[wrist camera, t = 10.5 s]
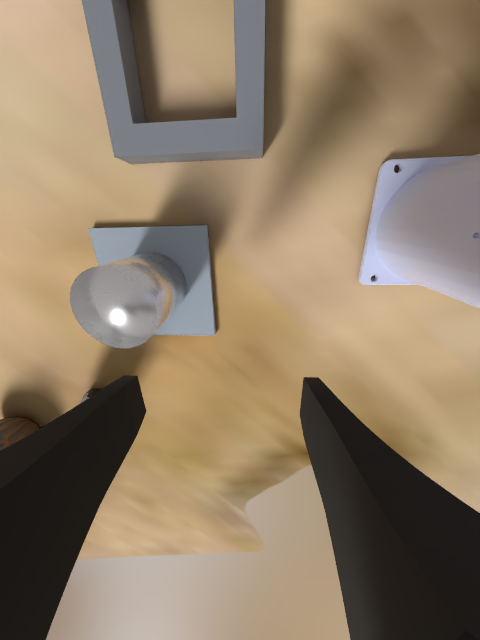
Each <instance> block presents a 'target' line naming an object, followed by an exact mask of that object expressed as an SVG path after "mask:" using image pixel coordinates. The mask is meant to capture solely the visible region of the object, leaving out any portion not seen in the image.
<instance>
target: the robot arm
mask: <svg viewBox="0 0 480 640" xmlns="http://www.w3.org/2000/svg"><path fill="white" fill-rule="evenodd" d="M395 165H398V166H399V171H398V172H397V173H395V172H394V167H395ZM373 275H375V279H374V280H372V281H371V277H372V276H373ZM359 282H360V283H362V284H363V285H421V286H424V287H426V288H429V289H431V290H434V291H436V292H439V293H442V294H444V295H447V296H449V297H452V298H454V299H457V300H459V301H462V302H464V303H467V304H469V305H472V306H474V307H477V308H480V153H479V154H476V155H473V156H454V157H432V158H409V159H391V160H388V161H385V162H384V163H383V164H382V165H381V166H380V169H379V173H378V178H377V183H376V189H375V194H374V199H373V204H372V210H371V215H370V220H369V225H368V231H367V236H366V241H365V246H364V252H363V257H362V262H361V267H360V273H359ZM145 413H146V408H145V404H144V401H143V397H142V393H141V389H140V385H139V381H138V377H137V376H123V377H121V378H119V379H117V380H116V381H114V382H113V383H111V384H109V385H108V386H106V387H105V388H103V389H102V390H100V391H99V392H97V393H96V394H94V395H93V396H91V397H90V398H88V399H87V400H85V401H84V402H82V403H80V404H79V405H77V406H76V407H74V408H73V409H71V410H70V411H68V412H66V413H65V414H63V415H61V416H60V417H58V418H57V419H55V420H53V421H52V422H50V423H48V424H47V425H45V426H44V427H42V428H40V429H39V430H37V431H35V432H33V433H32V434H30V435H28V436H26V437H25V438H23V439H21V440H19V441H17V442H15V443H14V444H12V445H10V446H8V447H6V448H4V449H3V450H1V451H0V640H46V637H47V634H48V632H49V629H50V626H51V623H52V621H53V618H54V615H55V613H56V610H57V608H58V605H59V602H60V600H61V597H62V595H63V592H64V590H65V587H66V584H67V582H68V579H69V577H70V574H71V572H72V569H73V567H74V564H75V562H76V560H77V557H78V555H79V552H80V550H81V547H82V545H83V543H84V540H85V538H86V535H87V533H88V531H89V529H90V526H91V524H92V522H93V520H94V517H95V515H96V513H97V510H98V508H99V506H100V504H101V502H102V500H103V498H104V496H105V494H106V492H107V490H108V488H109V486H110V484H111V483H112V481H113V479H114V477H115V475H116V473H117V471H118V470H119V468H120V466H121V464H122V462H123V460H124V459H125V457H126V455H127V453H128V451H129V449H130V447H131V445H132V444H133V442H134V440H135V438H136V436H137V434H138V431H139V429H140V427H141V424H142V421H143V419H144V416H145ZM300 418H301V424H302V430H303V435H304V440H305V443H306V447H307V450H308V454H309V457H310V460H311V464H312V467H313V470H314V474H315V477H316V480H317V484H318V487H319V491H320V494H321V497H322V501H323V505H324V509H325V513H326V517H327V522H328V527H329V531H330V536H331V541H332V546H333V550H334V555H335V560H336V565H337V570H338V575H339V580H340V586H341V591H342V595H343V601H344V606H345V612H346V617H347V623H348V628H349V633H350V639H351V640H480V513H479V512H477V511H476V510H474V509H473V508H471V507H470V506H468V505H467V504H465V503H464V502H462V501H461V500H459V499H458V498H457V497H455V496H454V495H452V494H451V493H450V492H448V491H447V490H445V489H444V488H443V487H441V486H440V485H438V484H437V483H436V482H434V481H433V480H431V479H430V478H429V477H427V476H426V475H425V474H423V473H422V472H421V471H419V470H418V469H417V468H415V467H414V466H413V465H411V464H410V463H409V462H408V461H406V460H405V459H404V458H403V457H401V456H400V455H399V454H398V453H396V452H395V451H394V450H393V449H392V448H390V447H389V446H388V445H387V444H386V443H384V442H383V441H382V440H381V439H380V438H379V437H378V436H376V435H375V434H374V433H373V432H372V431H371V430H370V429H369V428H368V427H366V426H365V425H364V424H363V423H362V422H361V421H360V420H359V419H358V418H357V417H356V416H355V415H354V414H353V413H352V412H351V411H350V410H349V409H348V408H347V407H346V406H345V405H344V404H343V403H342V402H341V401H340V400H339V399H338V398H337V397H336V396H335V395H334V394H333V392H332V391H331V390H330V389H329V388H328V387H327V386H326V385H325V384H324V383H323V382H322V381H321V380H320V379H319V378H311V377H304V380H303V389H302V398H301V408H300Z"/></svg>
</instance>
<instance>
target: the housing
mask: <svg viewBox="0 0 480 640" xmlns="http://www.w3.org/2000/svg"><path fill="white" fill-rule="evenodd" d="M82 4H83V9H84V13H85V18H86V23H87V28H88V33H89V37H90V42H91V47H92V52H93V57H94V61H95V66H96V71H97V76H98V81H99V85H100V90H101V95H102V100H103V105H104V109H105V114H106V119H107V124H108V129H109V133H110V138H111V143H112V148H113V153H114V157H116V158H119V159H121V160H123V161H125V162H128V163H130V164H143V163H165V162H186V161H207V160H229V159H250V158H262V156H263V128H264V54H265V0H234V32H235V73H236V114H237V118H221V119H205V120H188V121H171V122H155V123H146V119H145V113H144V106H143V100H142V93H141V87H140V80H139V74H138V67H137V61H136V54H135V48H134V41H133V35H132V28H131V22H130V15H129V9H128V2H127V0H82Z"/></svg>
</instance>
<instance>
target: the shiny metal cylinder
mask: <svg viewBox="0 0 480 640" xmlns="http://www.w3.org/2000/svg"><path fill="white" fill-rule="evenodd" d="M185 294H186V280H185V276H184V274H183V272H182V270H181V268H180V267H179V266H178V265H177V263H176V262H174V261H173V260H172V259H171V258H169V257H168V256H166V255H164V254H161V253H157V252H146V253H142V254H138V255H135V256H131V257H128V258H124V259H121V260H117V261H114V262H111V263H107V264H104V265H100V266H97V267H93V268H90V269H87V270H86V271H84V272H82V273H81V274H80V275H79V276H78V277H77V278H76V279H75V281H74V282H73V285H72V287H71V292H70V303H71V307H72V311H73V313H74V315H75V317H76V319H77V321H78V322H79V324H80V325H81V326H82V328H83V329H84V330H85V331H86V332H87V333H88V334H89V335H91V336H92V337H93V338H95V339H96V340H98V341H100V342H101V343H104V344H106V345H109V346H112V347H116V348H133V347H136V346H139V345H141V344H143V343H145V342H146V341H147V340H148V339H149V338H150V337H151V336H152V335H153V334H154V333H155V331H156V330H157V329H158V328H159V327H160V326H161V325H162V324H163V323H164V321H165V320H166V319H167V318H168V317H169V316H170V315H171V314H172V313H173V312H174V310H175V309H176V308H177V307H178V306H179V305H180V304H181V303H182V301H183V299H184V297H185Z"/></svg>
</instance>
